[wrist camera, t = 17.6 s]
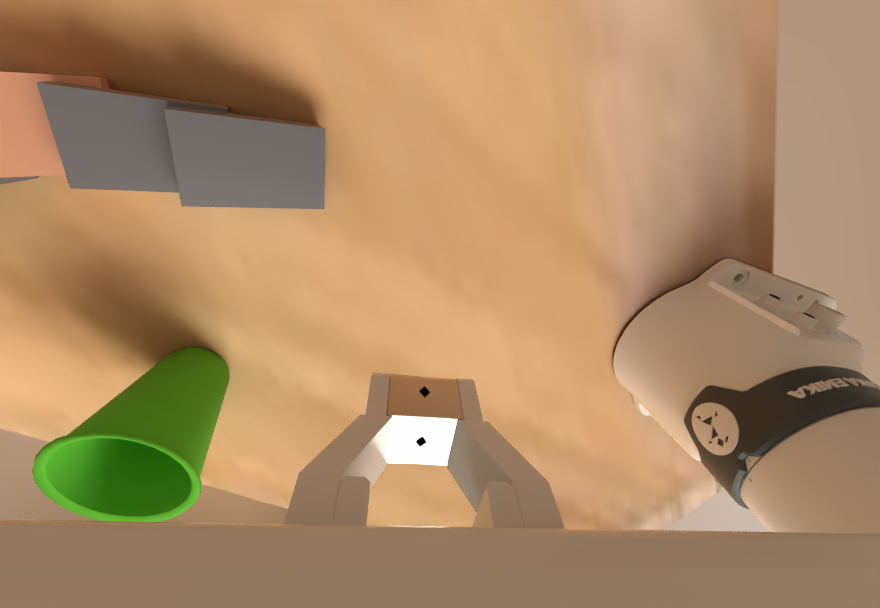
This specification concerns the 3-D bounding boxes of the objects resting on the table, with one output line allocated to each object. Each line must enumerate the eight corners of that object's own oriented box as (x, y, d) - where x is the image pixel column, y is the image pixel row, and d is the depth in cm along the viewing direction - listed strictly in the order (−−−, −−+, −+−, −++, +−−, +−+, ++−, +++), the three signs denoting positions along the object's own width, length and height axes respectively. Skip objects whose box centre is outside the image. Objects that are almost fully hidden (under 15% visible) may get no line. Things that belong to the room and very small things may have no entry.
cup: (158, 407, 34) (68, 529, 24) (125, 326, 29) (-1, 437, 20) (260, 405, 35) (212, 520, 26) (244, 327, 31) (178, 432, 21)
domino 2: (228, 108, 21) (36, 82, 17) (236, 194, 24) (70, 188, 20) (227, 105, 23) (50, 80, 19) (235, 186, 25) (80, 179, 21)
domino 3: (324, 128, 22) (164, 108, 18) (324, 208, 25) (181, 206, 21) (317, 124, 24) (167, 104, 20) (317, 200, 26) (183, 196, 22)
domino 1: (98, 77, 20) (-131, 64, 16) (132, 172, 22) (-60, 179, 19) (106, 77, 21) (-102, 65, 18) (137, 167, 24) (-40, 172, 20)
